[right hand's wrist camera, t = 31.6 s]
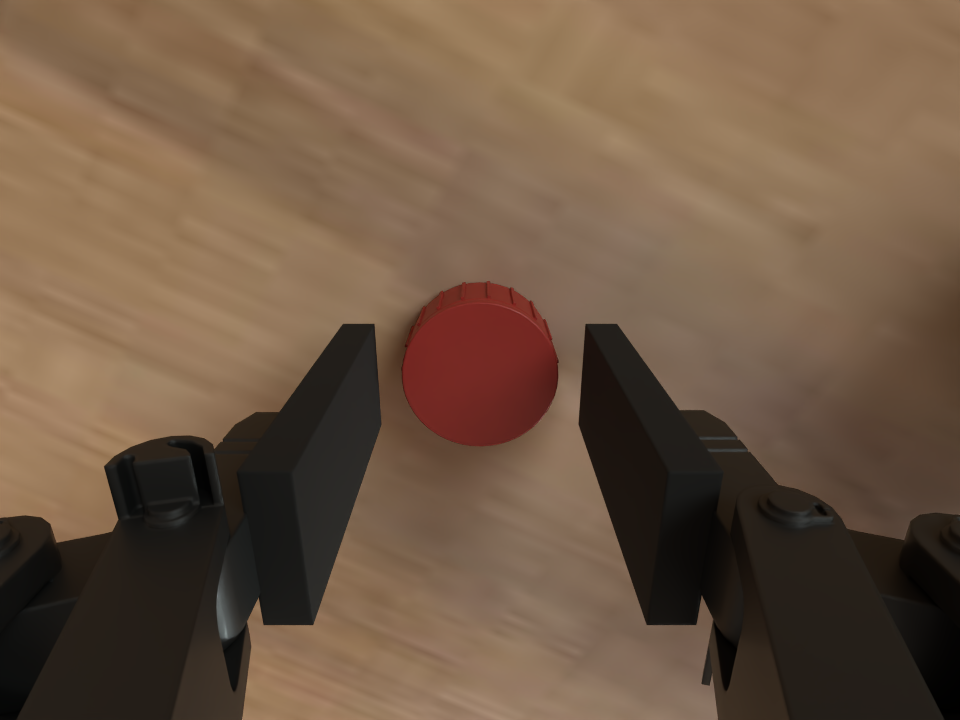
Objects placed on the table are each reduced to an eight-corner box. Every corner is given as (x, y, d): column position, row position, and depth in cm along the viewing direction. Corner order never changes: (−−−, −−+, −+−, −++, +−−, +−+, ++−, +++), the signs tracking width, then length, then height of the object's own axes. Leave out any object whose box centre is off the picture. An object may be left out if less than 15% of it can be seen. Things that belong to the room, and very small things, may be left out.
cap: (478, 248, 15) (478, 265, 13) (581, 348, 16) (594, 376, 14) (380, 350, 16) (366, 378, 14) (482, 437, 17) (481, 475, 15)
